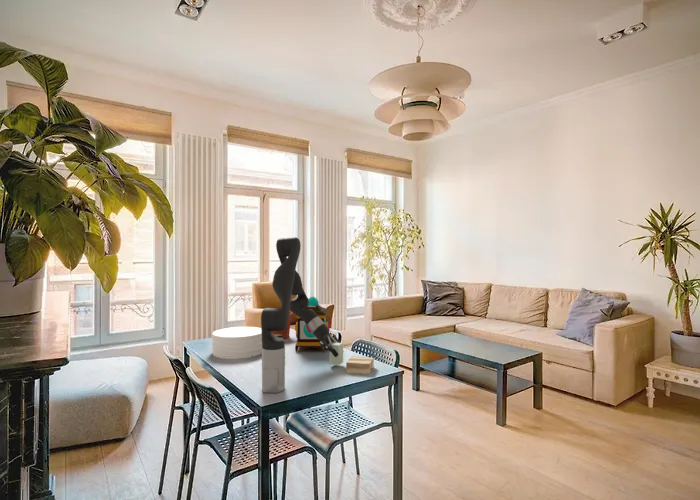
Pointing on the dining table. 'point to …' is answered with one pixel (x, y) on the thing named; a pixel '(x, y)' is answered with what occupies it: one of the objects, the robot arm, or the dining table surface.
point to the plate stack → (237, 342)
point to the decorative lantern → (302, 329)
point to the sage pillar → (339, 350)
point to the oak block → (359, 365)
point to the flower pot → (286, 332)
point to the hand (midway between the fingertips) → (339, 354)
